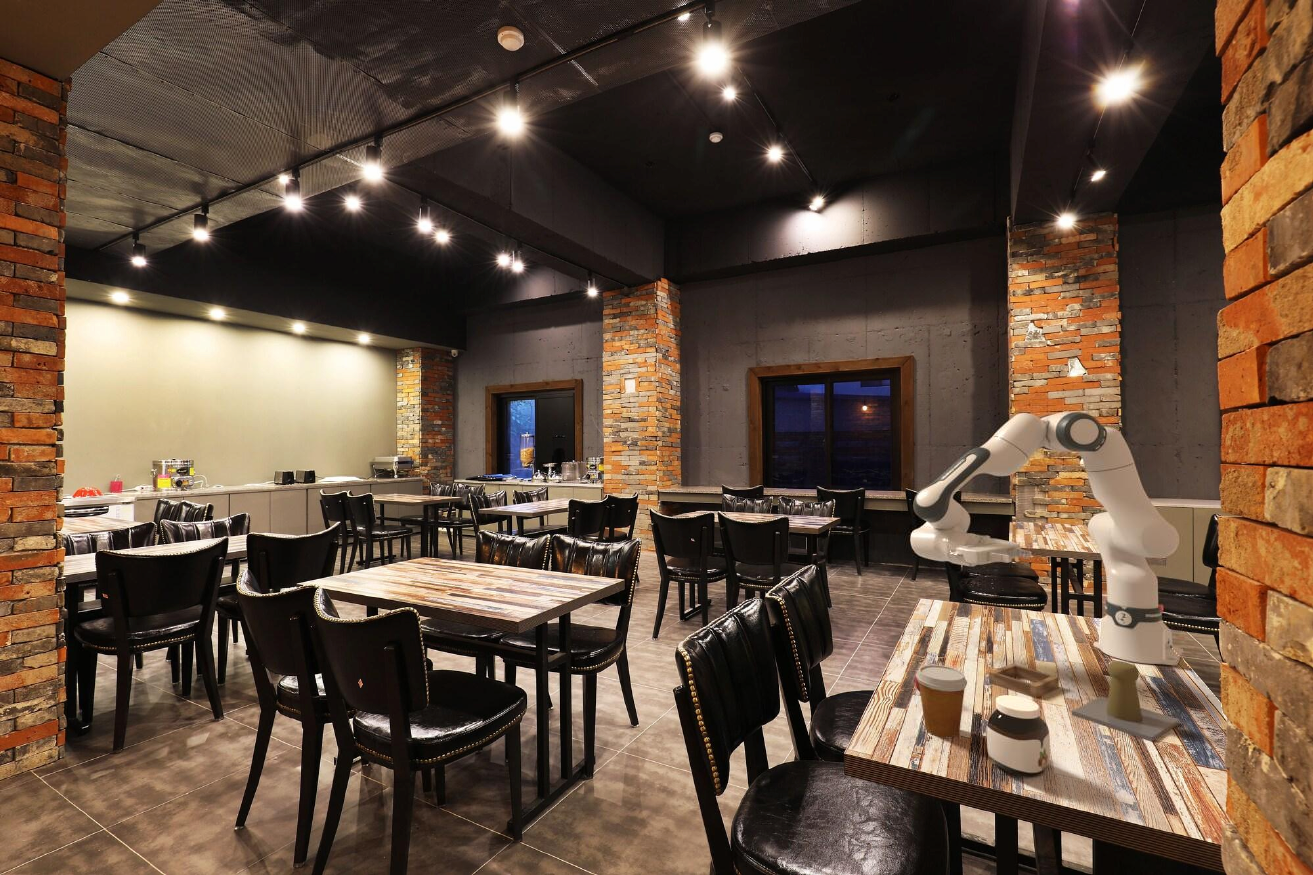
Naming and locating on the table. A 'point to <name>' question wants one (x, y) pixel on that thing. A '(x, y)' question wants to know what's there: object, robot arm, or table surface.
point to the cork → (1123, 692)
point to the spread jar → (1018, 737)
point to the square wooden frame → (1035, 690)
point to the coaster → (1145, 728)
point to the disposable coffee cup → (941, 699)
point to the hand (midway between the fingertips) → (1020, 556)
